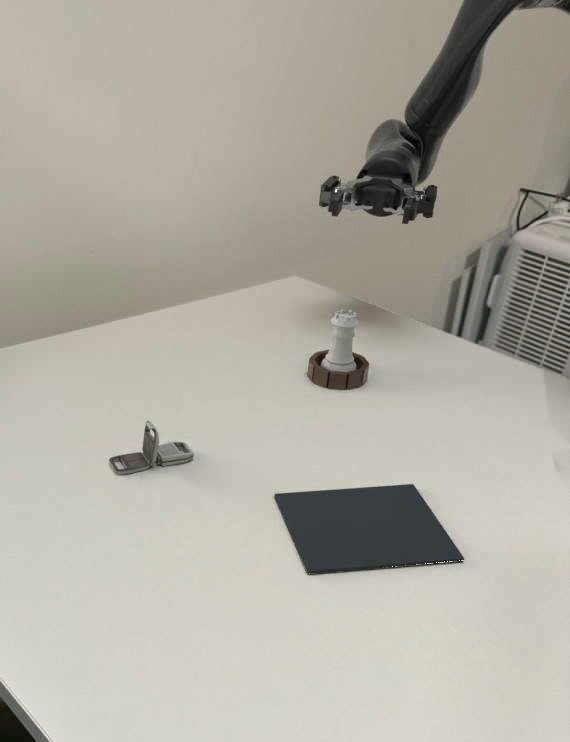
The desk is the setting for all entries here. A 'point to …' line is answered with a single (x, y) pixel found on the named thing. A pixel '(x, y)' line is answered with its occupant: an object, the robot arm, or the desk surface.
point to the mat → (364, 528)
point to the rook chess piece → (341, 343)
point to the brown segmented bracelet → (337, 372)
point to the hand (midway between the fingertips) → (370, 211)
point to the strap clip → (153, 453)
